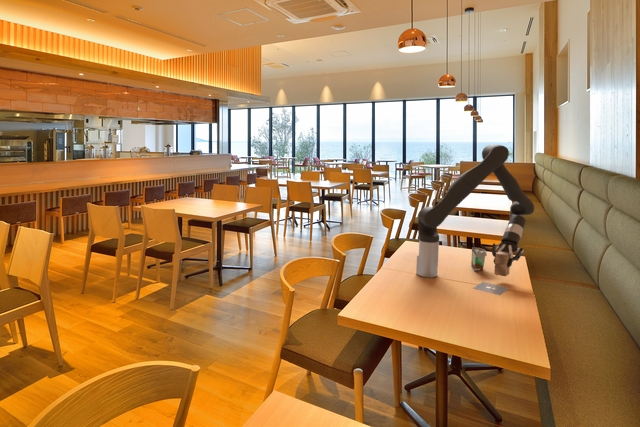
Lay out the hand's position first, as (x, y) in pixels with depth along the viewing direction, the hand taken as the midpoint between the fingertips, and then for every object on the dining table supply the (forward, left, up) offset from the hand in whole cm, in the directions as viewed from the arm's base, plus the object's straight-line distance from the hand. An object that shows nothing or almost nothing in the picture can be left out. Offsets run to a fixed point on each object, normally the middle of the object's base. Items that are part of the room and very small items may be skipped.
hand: (501, 265), depth 188 cm
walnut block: (0, +1, -5) cm, 5 cm away
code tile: (0, -11, -8) cm, 14 cm away
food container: (-15, +13, -8) cm, 22 cm away
